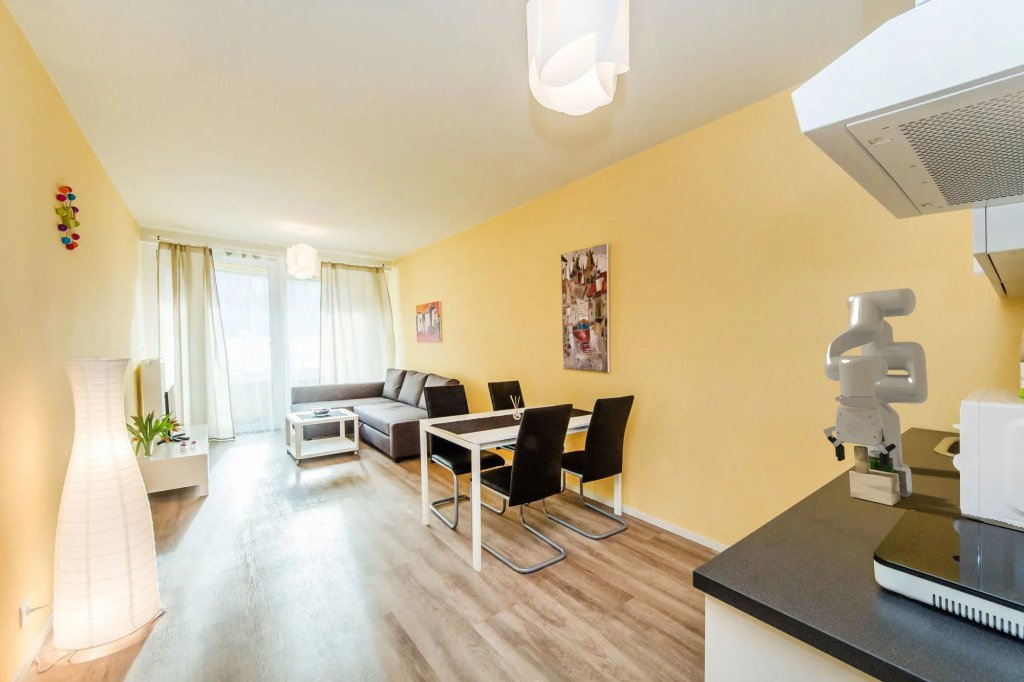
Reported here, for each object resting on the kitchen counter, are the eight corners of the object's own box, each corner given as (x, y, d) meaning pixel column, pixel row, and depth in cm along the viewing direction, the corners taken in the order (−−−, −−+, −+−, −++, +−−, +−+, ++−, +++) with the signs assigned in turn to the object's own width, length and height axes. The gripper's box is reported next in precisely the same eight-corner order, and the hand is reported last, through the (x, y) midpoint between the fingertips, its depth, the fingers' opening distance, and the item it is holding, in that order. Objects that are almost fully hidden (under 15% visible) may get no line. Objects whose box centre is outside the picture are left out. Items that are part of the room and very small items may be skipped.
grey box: (872, 486, 127) (870, 462, 127) (912, 493, 120) (910, 468, 120) (867, 488, 125) (865, 464, 125) (907, 497, 117) (905, 471, 118)
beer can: (897, 494, 119) (894, 451, 120) (893, 499, 116) (890, 455, 116) (872, 490, 124) (869, 449, 124) (868, 495, 120) (865, 452, 120)
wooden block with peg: (859, 491, 122) (856, 442, 122) (900, 500, 114) (896, 448, 115) (850, 496, 119) (847, 446, 119) (892, 505, 111) (888, 451, 112)
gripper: (816, 401, 124) (820, 460, 123) (893, 406, 109) (897, 473, 109) (828, 398, 128) (831, 455, 127) (903, 403, 113) (907, 467, 113)
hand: (861, 463), depth 118 cm, fingers open, 9 cm apart
